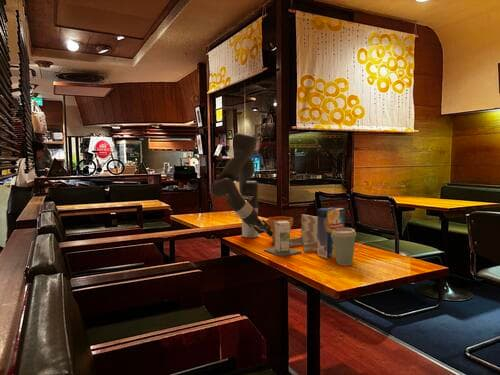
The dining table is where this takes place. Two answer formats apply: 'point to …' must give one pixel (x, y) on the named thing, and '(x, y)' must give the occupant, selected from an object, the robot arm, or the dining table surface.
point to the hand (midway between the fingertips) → (266, 233)
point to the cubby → (307, 234)
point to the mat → (282, 254)
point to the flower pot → (272, 220)
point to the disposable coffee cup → (344, 245)
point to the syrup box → (282, 236)
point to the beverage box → (328, 229)
